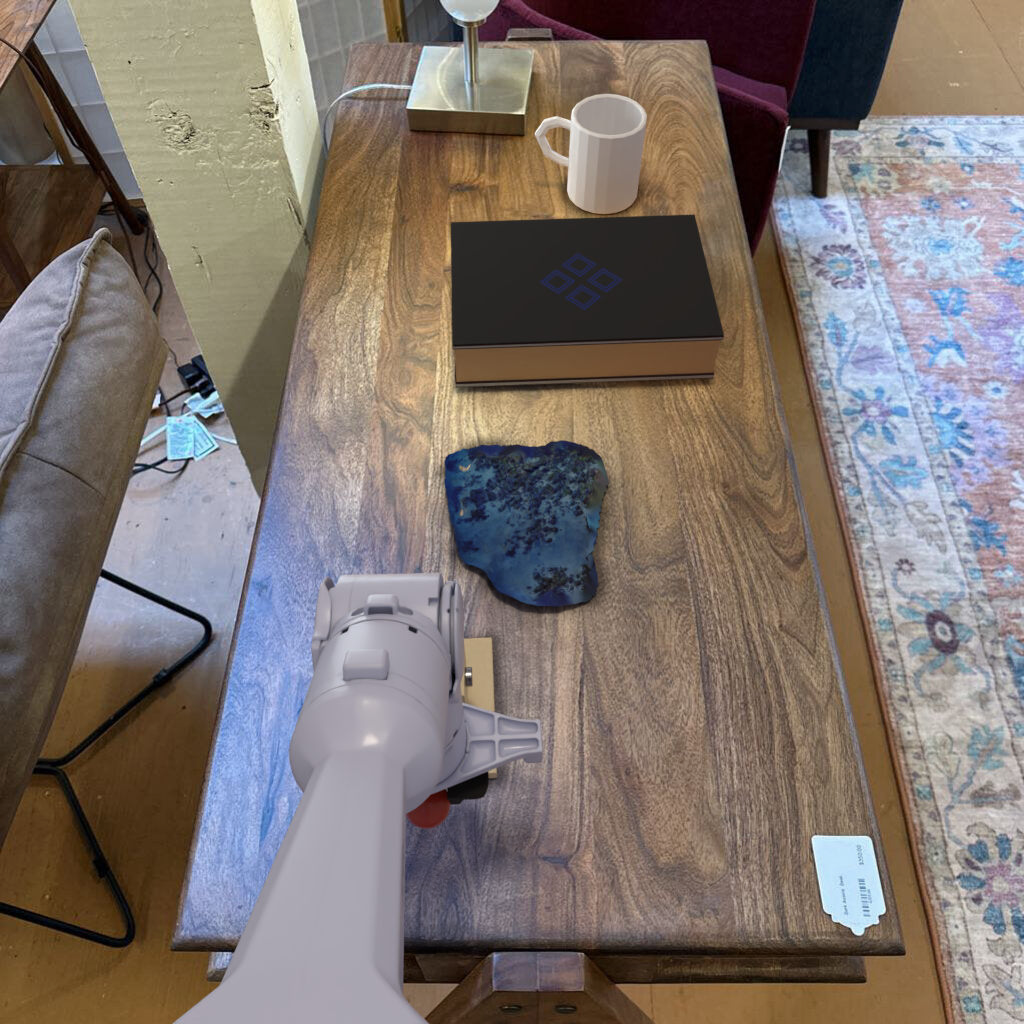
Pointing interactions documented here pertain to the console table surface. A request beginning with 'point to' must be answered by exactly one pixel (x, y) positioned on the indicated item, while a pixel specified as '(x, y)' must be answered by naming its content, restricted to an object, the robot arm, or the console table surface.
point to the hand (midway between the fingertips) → (430, 790)
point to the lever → (431, 811)
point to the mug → (601, 151)
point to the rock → (529, 517)
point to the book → (581, 301)
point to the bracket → (478, 677)
